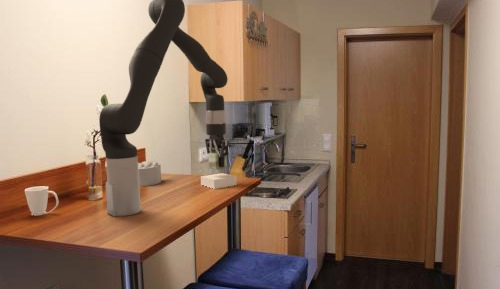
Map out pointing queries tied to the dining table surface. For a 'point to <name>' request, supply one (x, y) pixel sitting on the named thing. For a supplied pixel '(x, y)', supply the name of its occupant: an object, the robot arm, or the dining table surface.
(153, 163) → the lumpy-topped squat cylinder
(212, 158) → the sage block
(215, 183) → the base block
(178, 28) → the robot arm
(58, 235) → the dining table surface
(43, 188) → the cup
